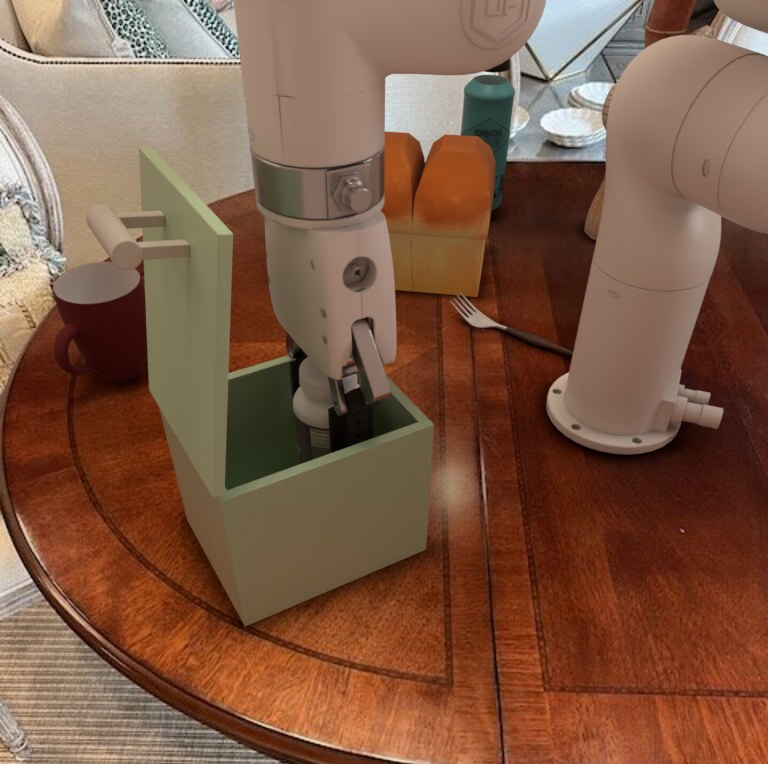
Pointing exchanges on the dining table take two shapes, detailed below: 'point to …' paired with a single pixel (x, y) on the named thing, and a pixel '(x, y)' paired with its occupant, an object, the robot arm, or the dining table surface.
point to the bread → (438, 211)
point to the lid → (180, 306)
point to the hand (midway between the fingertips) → (332, 422)
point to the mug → (102, 320)
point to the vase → (662, 23)
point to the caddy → (305, 497)
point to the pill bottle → (314, 410)
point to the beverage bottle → (490, 118)
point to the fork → (505, 328)
